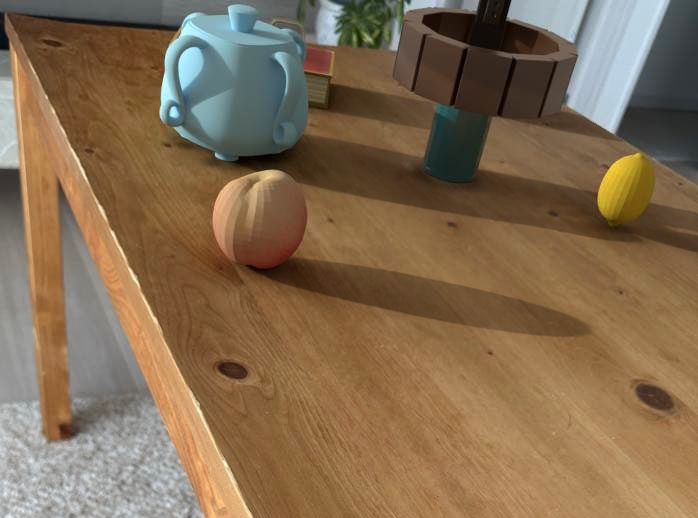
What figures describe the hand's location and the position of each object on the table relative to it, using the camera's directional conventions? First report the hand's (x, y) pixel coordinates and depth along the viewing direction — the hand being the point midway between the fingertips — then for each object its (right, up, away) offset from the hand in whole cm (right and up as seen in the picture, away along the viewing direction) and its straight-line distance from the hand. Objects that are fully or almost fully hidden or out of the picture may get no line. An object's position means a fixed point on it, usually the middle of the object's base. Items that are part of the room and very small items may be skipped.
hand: (480, 57), depth 83 cm
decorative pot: (-25, -1, +17) cm, 30 cm away
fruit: (-21, -21, -4) cm, 30 cm away
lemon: (+18, -11, +15) cm, 26 cm away
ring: (-1, -5, -4) cm, 7 cm away
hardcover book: (-23, +16, +34) cm, 44 cm away
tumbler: (0, -2, +20) cm, 20 cm away
